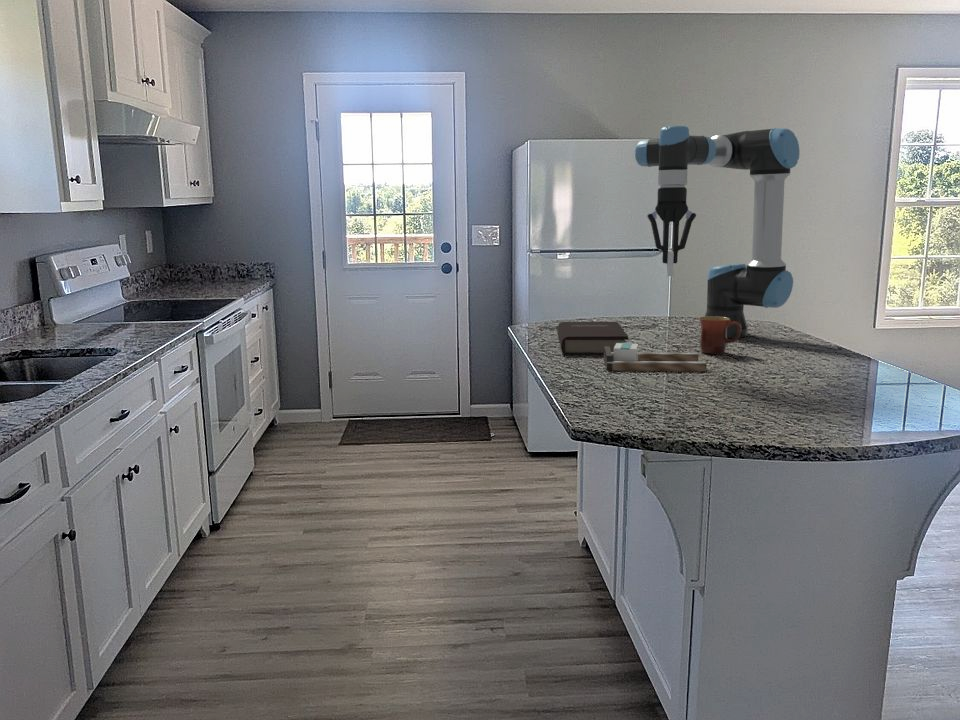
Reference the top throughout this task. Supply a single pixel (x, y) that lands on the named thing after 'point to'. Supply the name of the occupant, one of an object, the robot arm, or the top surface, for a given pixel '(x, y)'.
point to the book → (589, 337)
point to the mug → (716, 334)
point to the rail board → (655, 362)
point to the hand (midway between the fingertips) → (669, 275)
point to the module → (625, 352)
